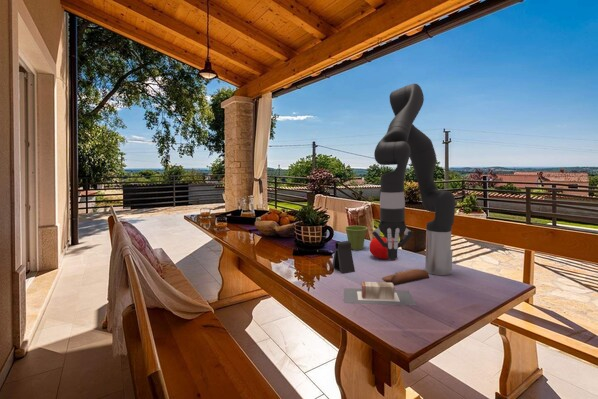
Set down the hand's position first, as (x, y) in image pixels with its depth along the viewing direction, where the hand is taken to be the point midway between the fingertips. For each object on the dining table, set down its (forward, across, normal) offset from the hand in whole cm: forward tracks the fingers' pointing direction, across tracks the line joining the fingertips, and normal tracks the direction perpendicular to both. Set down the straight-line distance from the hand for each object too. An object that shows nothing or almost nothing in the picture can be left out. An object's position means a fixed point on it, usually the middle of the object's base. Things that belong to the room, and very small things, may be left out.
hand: (392, 259), depth 101 cm
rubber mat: (+13, +5, 0) cm, 14 cm away
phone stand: (+14, +15, -29) cm, 36 cm away
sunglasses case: (+14, -7, -18) cm, 24 cm away
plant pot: (+14, +8, -64) cm, 66 cm away
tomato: (+14, -4, -48) cm, 50 cm away
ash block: (+10, 0, 0) cm, 10 cm away
